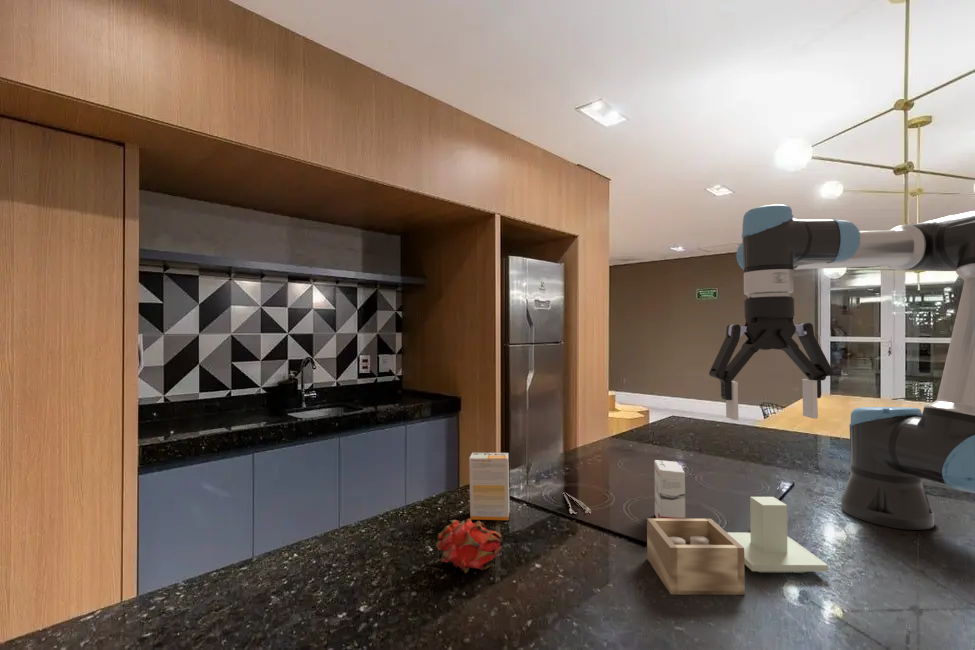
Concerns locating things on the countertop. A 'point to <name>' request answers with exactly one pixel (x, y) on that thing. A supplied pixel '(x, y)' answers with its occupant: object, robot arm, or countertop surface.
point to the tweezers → (578, 503)
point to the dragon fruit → (469, 544)
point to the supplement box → (489, 486)
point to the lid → (773, 541)
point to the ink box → (669, 490)
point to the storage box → (695, 557)
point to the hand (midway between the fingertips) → (771, 418)
